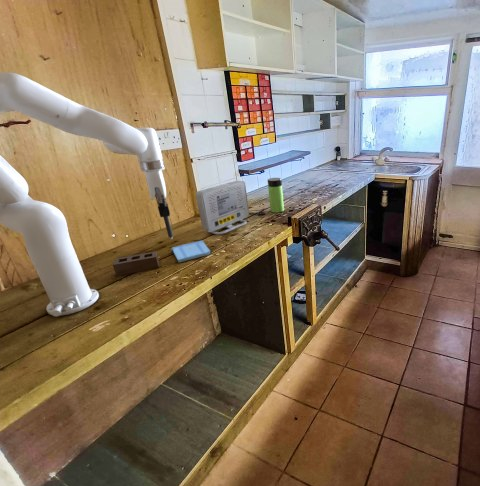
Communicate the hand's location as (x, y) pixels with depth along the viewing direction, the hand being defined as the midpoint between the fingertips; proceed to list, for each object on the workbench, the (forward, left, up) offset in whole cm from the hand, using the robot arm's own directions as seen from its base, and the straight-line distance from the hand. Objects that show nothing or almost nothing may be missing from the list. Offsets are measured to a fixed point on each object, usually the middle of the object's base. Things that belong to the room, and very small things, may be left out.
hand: (165, 215), depth 116 cm
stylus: (0, 0, -10) cm, 10 cm away
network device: (+22, -24, -17) cm, 36 cm away
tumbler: (+35, -52, -17) cm, 65 cm away
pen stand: (-6, +12, -17) cm, 22 cm away
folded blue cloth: (0, -6, -17) cm, 18 cm away
